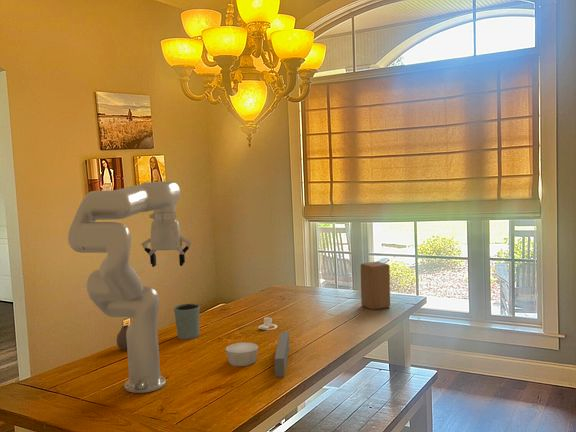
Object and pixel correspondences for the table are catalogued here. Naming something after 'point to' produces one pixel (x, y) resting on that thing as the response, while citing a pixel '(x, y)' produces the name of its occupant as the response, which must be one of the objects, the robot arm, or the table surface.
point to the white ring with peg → (267, 324)
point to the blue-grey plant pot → (187, 320)
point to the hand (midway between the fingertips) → (168, 265)
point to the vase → (122, 338)
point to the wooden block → (375, 285)
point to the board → (282, 354)
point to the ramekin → (242, 354)
